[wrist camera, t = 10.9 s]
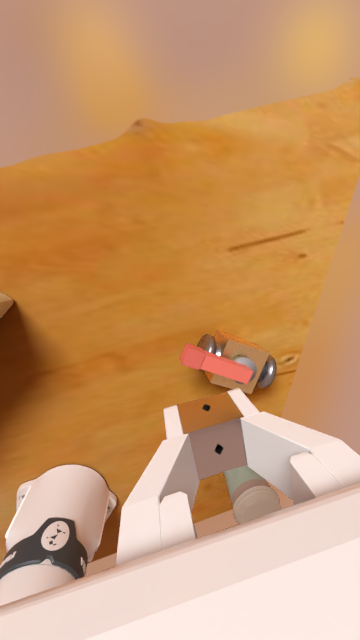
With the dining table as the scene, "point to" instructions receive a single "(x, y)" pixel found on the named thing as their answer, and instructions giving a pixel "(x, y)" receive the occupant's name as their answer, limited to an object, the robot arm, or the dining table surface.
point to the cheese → (5, 304)
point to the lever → (219, 364)
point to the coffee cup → (250, 494)
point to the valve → (237, 348)
